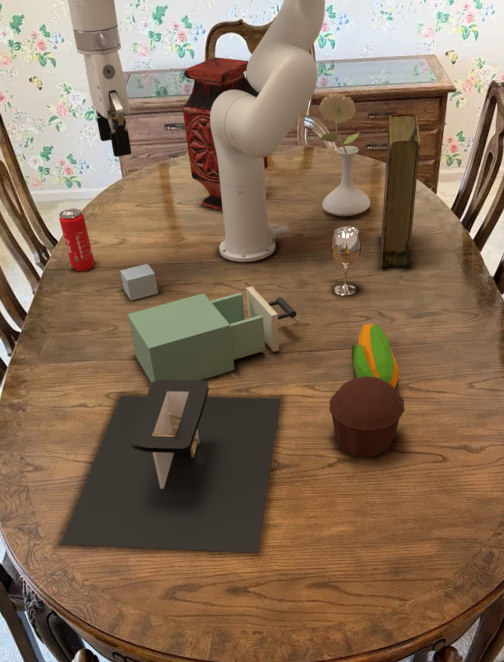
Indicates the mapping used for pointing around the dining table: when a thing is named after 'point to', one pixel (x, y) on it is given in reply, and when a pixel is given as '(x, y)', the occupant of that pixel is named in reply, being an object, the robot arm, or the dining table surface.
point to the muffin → (366, 415)
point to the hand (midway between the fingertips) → (115, 147)
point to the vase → (201, 148)
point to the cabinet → (182, 340)
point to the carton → (139, 282)
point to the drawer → (252, 321)
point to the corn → (375, 356)
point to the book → (400, 188)
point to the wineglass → (345, 254)
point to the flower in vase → (343, 160)
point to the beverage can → (76, 239)
